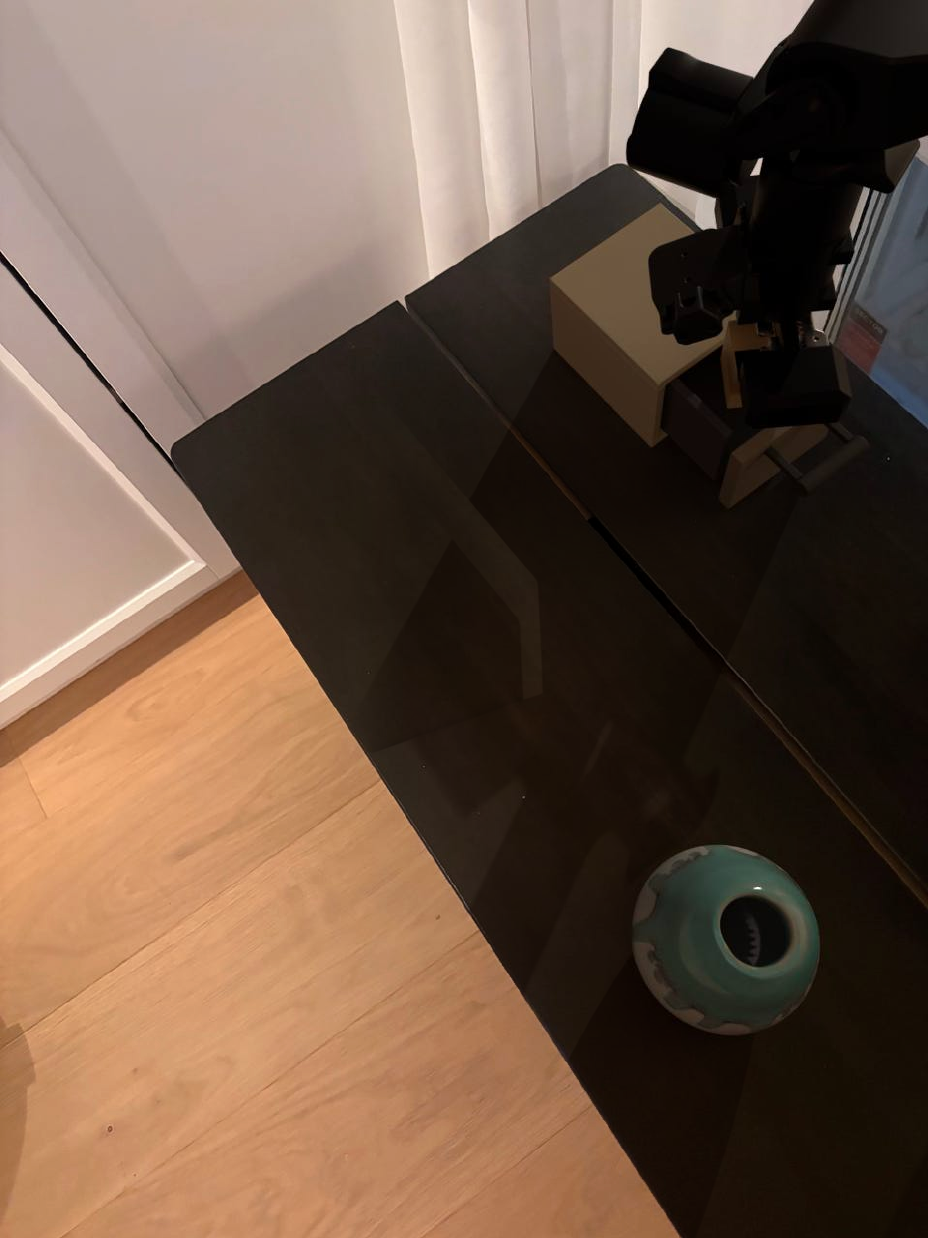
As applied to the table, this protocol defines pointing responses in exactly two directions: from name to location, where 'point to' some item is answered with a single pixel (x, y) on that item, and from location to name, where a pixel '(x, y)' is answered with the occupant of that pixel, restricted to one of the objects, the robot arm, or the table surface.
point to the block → (734, 341)
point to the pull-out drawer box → (744, 437)
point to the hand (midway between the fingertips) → (757, 372)
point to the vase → (725, 939)
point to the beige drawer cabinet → (623, 323)
